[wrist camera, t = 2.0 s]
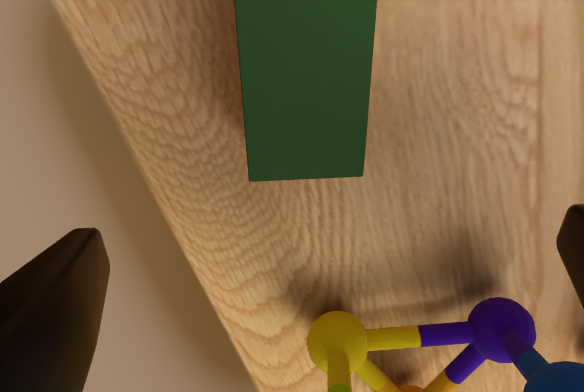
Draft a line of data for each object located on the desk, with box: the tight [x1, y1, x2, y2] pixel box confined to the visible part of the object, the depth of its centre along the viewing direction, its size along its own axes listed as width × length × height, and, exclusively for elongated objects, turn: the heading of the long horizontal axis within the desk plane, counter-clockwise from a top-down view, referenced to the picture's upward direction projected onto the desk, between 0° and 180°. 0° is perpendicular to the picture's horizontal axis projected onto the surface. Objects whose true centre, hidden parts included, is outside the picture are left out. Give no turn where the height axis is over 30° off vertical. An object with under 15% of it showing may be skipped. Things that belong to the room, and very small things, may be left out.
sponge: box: [234, 0, 377, 182], centre depth 16 cm, size 4×6×3 cm, turn 1°
